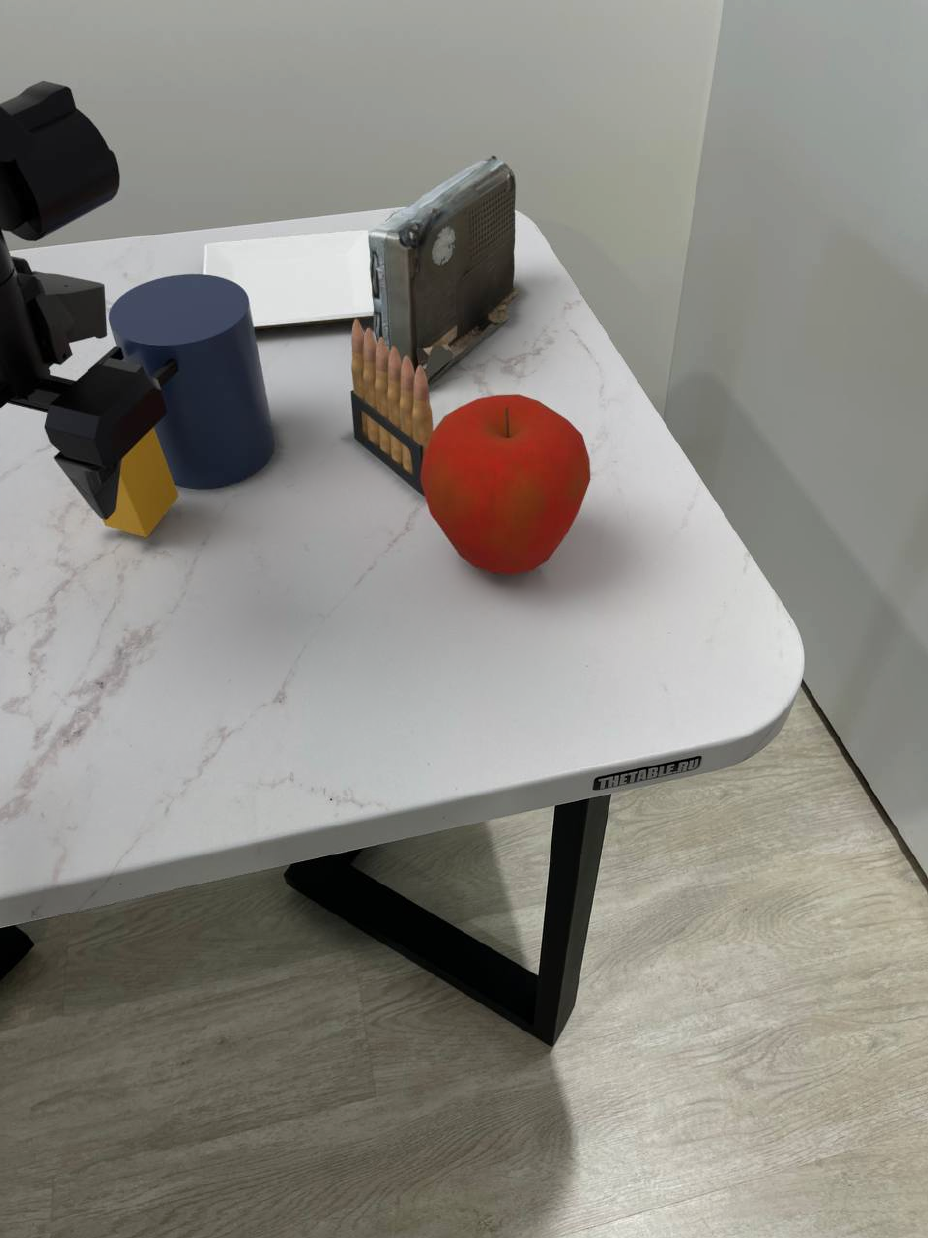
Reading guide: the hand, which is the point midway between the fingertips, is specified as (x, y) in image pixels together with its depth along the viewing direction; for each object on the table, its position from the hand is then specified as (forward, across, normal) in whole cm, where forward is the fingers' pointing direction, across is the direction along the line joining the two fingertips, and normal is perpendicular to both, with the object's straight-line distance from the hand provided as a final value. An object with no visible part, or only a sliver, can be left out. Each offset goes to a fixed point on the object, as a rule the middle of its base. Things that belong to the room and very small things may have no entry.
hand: (49, 498), depth 66 cm
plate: (+13, +10, -49) cm, 52 cm away
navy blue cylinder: (+13, +4, -21) cm, 25 cm away
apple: (+13, -25, -18) cm, 34 cm away
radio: (+13, -8, -48) cm, 51 cm away
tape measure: (+12, +4, -12) cm, 17 cm away
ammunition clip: (+13, -12, -26) cm, 32 cm away
